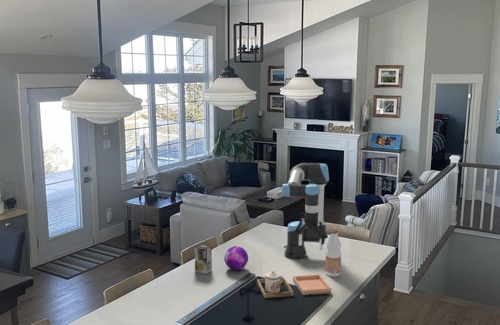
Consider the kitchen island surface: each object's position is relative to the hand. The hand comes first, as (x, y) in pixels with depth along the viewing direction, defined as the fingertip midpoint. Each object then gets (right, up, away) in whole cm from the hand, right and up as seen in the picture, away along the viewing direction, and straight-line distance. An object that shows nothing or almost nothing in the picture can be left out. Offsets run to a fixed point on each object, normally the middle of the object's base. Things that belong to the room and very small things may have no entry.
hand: (310, 247), depth 290 cm
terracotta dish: (+1, -23, +3) cm, 24 cm away
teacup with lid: (-21, -24, -1) cm, 32 cm away
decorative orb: (-44, -19, +29) cm, 56 cm away
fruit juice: (+16, -21, +22) cm, 34 cm away
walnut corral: (-21, -24, -1) cm, 32 cm away
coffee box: (-64, -20, +25) cm, 72 cm away
